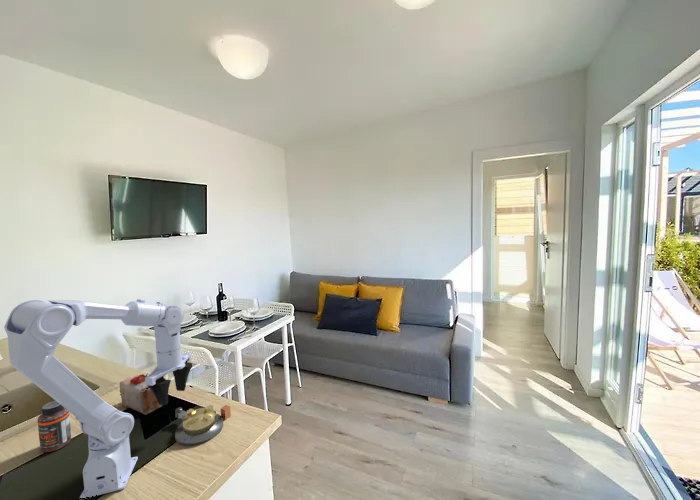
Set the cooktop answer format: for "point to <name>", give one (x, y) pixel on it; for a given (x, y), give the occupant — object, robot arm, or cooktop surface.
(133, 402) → the food item
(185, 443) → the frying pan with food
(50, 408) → the supplement bottle
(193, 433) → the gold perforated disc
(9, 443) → the cooktop surface
